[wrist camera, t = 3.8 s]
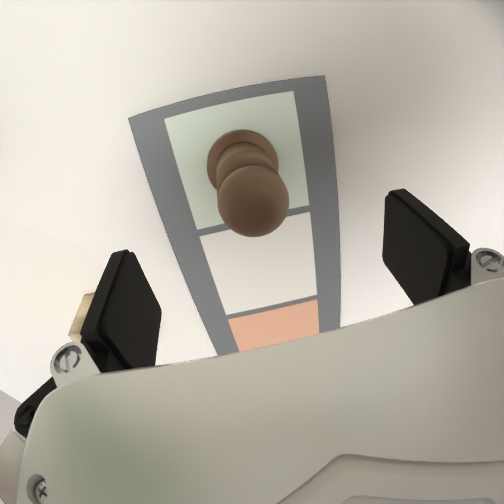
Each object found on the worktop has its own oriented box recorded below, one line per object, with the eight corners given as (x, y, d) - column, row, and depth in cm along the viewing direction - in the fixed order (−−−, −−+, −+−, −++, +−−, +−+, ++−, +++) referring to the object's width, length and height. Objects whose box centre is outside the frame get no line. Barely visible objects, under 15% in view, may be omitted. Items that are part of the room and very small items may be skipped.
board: (323, 75, 17) (325, 75, 17) (338, 348, 33) (339, 350, 33) (129, 117, 17) (127, 118, 17) (227, 373, 33) (227, 376, 33)
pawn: (269, 123, 18) (304, 155, 12) (280, 186, 21) (314, 249, 14) (199, 138, 18) (190, 180, 12) (216, 200, 21) (218, 271, 14)
